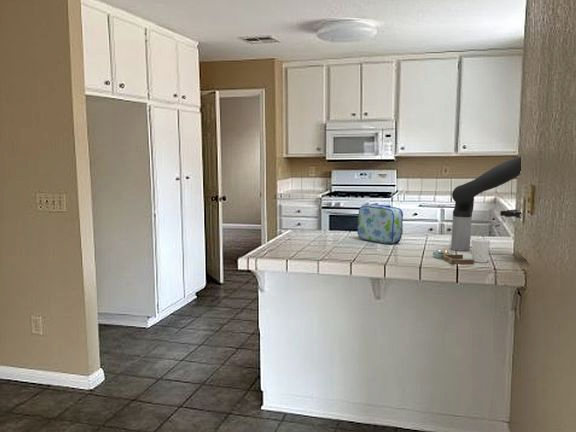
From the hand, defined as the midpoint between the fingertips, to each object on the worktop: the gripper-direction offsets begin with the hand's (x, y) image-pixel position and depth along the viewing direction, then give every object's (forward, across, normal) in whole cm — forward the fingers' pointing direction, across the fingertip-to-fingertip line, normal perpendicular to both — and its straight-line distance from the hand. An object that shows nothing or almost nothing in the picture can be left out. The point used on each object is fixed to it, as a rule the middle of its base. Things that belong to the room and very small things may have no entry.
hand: (503, 213), depth 239 cm
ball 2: (+23, -8, +20) cm, 31 cm away
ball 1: (+25, -10, +20) cm, 34 cm away
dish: (+24, -9, +22) cm, 34 cm away
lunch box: (+41, -54, +22) cm, 71 cm away
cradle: (+20, 0, +22) cm, 30 cm away
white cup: (+10, 0, +22) cm, 24 cm away
